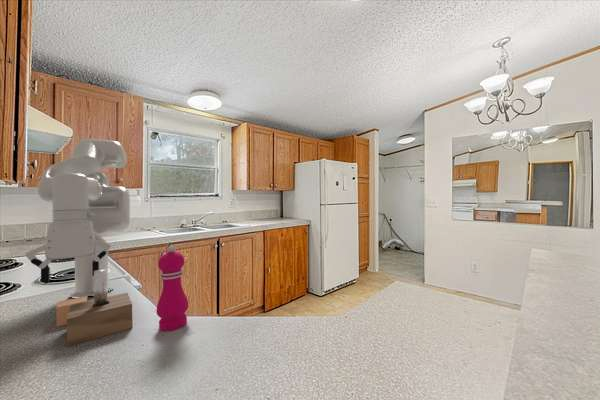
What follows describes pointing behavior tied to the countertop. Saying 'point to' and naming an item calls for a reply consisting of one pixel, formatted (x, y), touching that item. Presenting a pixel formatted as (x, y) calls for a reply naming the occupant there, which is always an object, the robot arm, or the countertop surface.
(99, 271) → the post
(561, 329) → the countertop surface
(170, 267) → the pepper mill
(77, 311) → the post block
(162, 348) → the countertop surface
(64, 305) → the cardboard-colored cube
